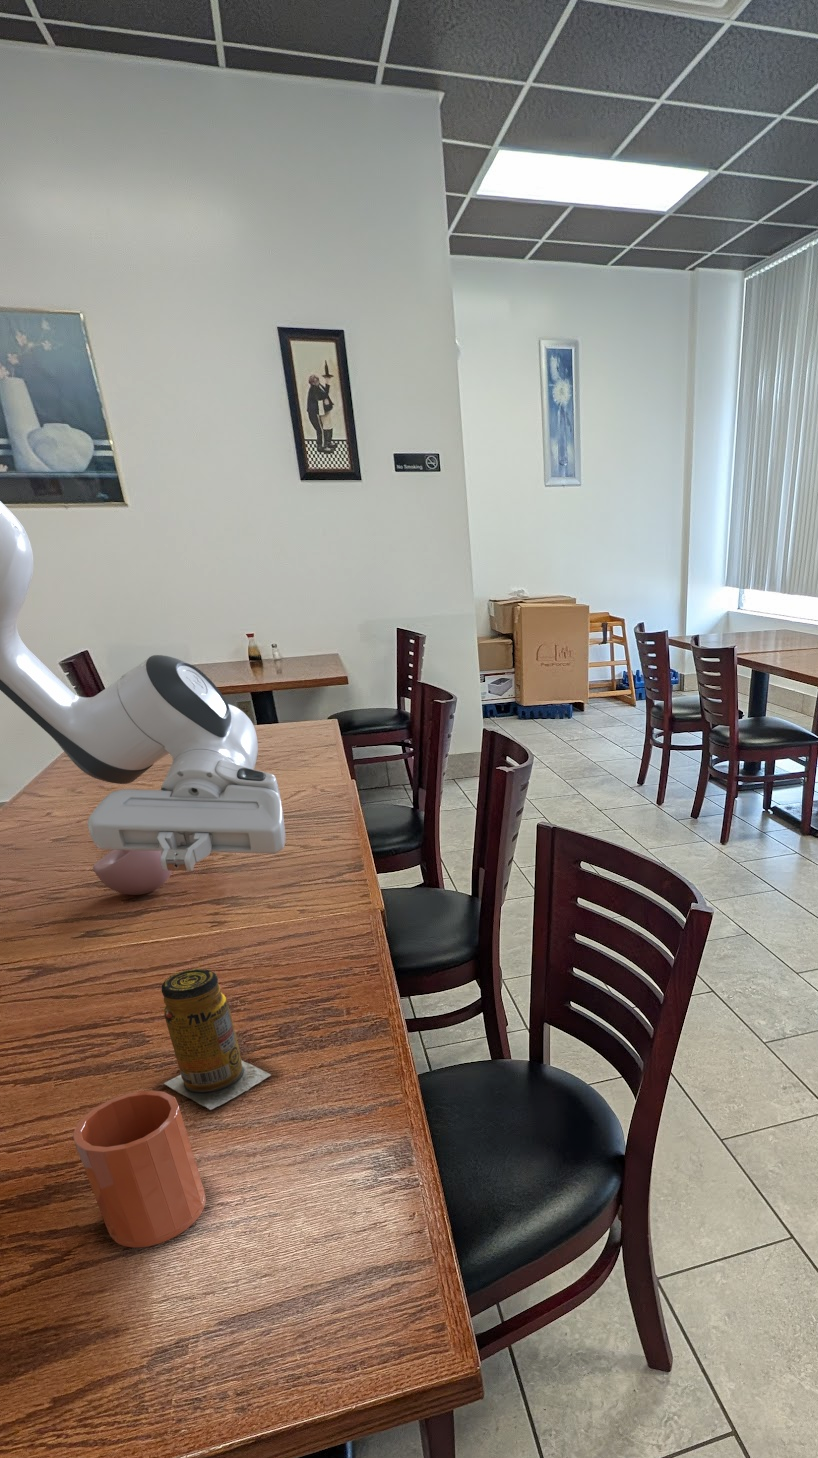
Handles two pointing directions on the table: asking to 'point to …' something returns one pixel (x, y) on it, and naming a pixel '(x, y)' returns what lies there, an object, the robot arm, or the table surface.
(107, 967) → the table surface
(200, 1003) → the condiment
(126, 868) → the mortar and pestle
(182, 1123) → the terracotta cup
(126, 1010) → the table surface
